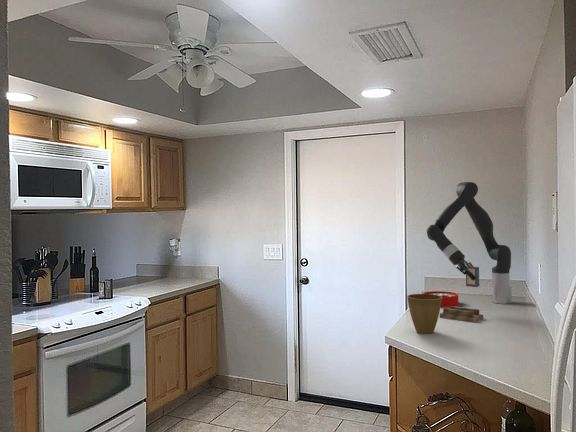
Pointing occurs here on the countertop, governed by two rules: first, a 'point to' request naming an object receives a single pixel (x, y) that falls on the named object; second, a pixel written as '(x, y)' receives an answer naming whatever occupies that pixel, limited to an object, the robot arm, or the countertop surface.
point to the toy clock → (446, 298)
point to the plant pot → (424, 311)
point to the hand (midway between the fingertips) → (476, 278)
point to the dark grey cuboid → (476, 273)
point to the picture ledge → (461, 314)
